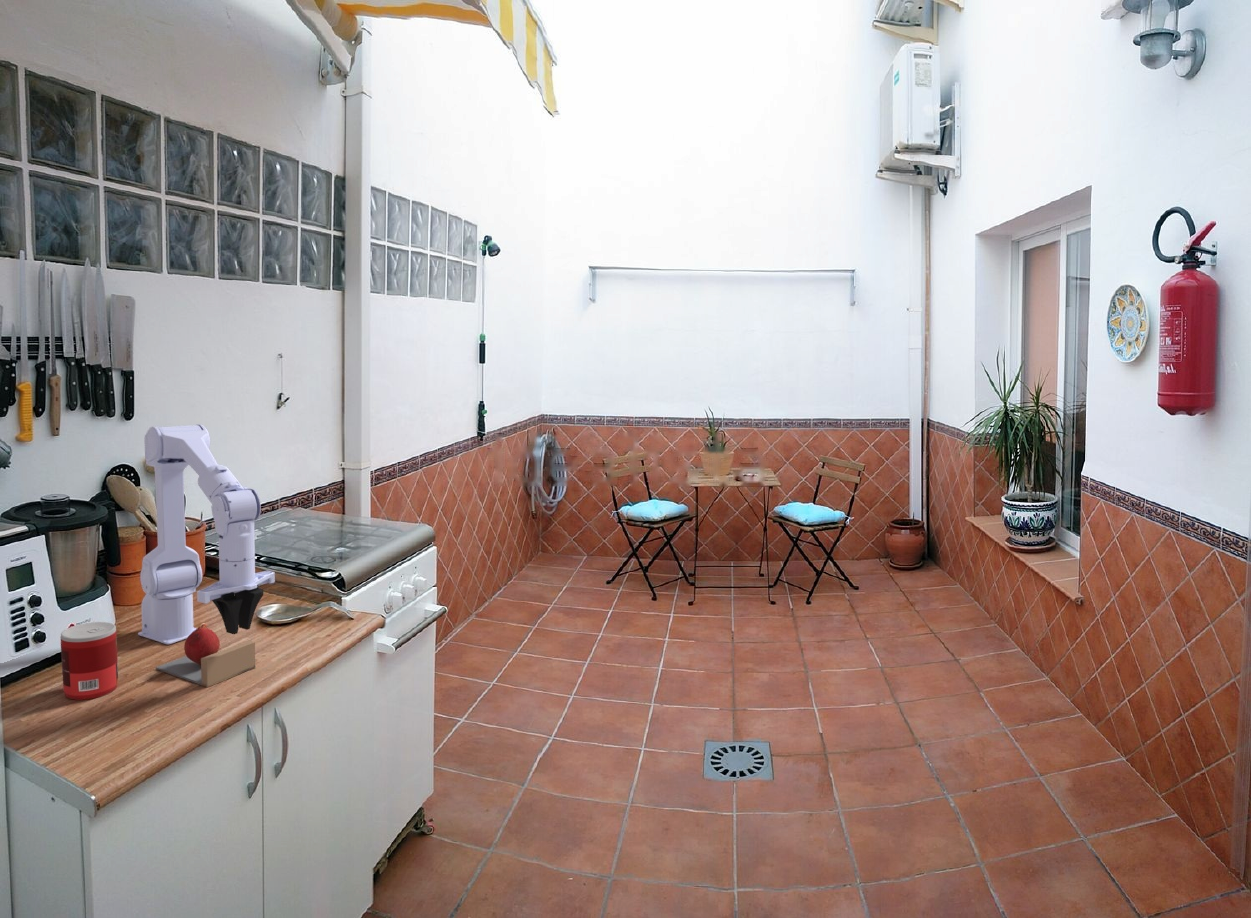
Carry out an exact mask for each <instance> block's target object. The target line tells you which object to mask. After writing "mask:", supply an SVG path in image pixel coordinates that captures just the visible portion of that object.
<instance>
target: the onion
mask: <svg viewBox="0 0 1251 918" xmlns="http://www.w3.org/2000/svg"><path fill="white" fill-rule="evenodd" d="M207 627H208V624H207V623H205V622H203V623H200V624H199V626H198V627H196V628H197V629H196V630H194V631H193V632H192V633H191V634H190V635H189V636H188V637H187V639H185V641H184V646H183V649H184V654H185V656H187V657H188V658H189V659H190V660H191V661H193V662H195V663H197V664H199V665H201V658H203V657H206V656H209V655H211V654H214V653H217V652H219V650H220V647H221V643H220V639H219V637H218V635H217V634H216V633H215V632H214V631H213V630H211V629H210V628H207Z"/></svg>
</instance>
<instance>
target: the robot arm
mask: <svg viewBox="0 0 1251 918" xmlns="http://www.w3.org/2000/svg"><path fill="white" fill-rule="evenodd" d="M210 447H211V438H210V433H209V431H208V429H207V428H206V427H205V425H203V424H201V423H199V424H194V425H173V426H154V425H153V426H151V427H149V429H148V430H147V431H146V433H145V435H144V460H145V464H146V466H148V467H153V468H154V476H155V477H154V479H155V480H154V481H155V482H154V483H155V503H156V504H155V506H156V507H155V508H156V509H155V510H156V511H155V512H156V528H157V529H156V533H157V534H156V535H157V546H156V547H155V548H153V549H152V550H151V551H150V552H148V553H147V554H146V555H145V556H143V557H142V561H141V562H142V563H141V571H140V577H139V578H140V584H141V588H142V591H143V592H144V593H145V595H144V596H143V598H142V601H141V604H140V605H141V609H140V610H141V631H139V632H138V633H137V635H138V636H141V637H143V638H146V639H149V640H152V641H156V642H158V643H161V644H164V645H171V644H175V643H176V642H180V641H183V640H186V639H187V637H188V636H189V635H190V634H191V633H192V632H193V631H194V630H196V629H197V628H198V627H194V601H193V600H194V599H193V597H194V596H193V593H196V595H197V596H196V597H197V598H196V599H197V600H196V601H197V602H199V603H202V604H203V605H204V604H209V603H211V601H212V602H213V604H214V605H215V607H216V608H217V610H218V612H219V614H220V617H221V619H222V620H223V621H222V622H223V625H224V628H225V631H226V633H229V634H232V635H236V634H238V632H239V628H240V629H244V630H245V631H247V630H250V629H251V626H252V622H253V618H254V615H255V611H256V610H257V607H258V605H259V603H260V601H261V600H262V598H263V597H264V589H263V588H260V587H259V586H262V585H266V584H274V583H275V582H276V578H275V577H276V576H275V575H276V573H275V571H270V570H264V571H260V572H256V547H255V543H256V542H255V540H256V539H255V521H257V520H258V519H259V518H260V516H261V511H262V508H261V507H262V506H261V499H260V497H259V495H258V493H257V491H256V489H254V488H252V487H250V488H249V487H248V486H242V484H241V483H240V482H239V480H238V479H237V477H236V476H235V475H234V473H233V472H232V471H231V470H230V468H228V466H226V465H222V464H218V462H217V460H216V458H215V457H214V455H213V453H212V452H211V450H210ZM188 466H189V467H190V468H191V469H193V471H194V472H195V473H196V474H197V475H198V477H197V484H198V487H199V488H200V489H201V491H202V492H203V494H204V496H205V497H206V498H207V500H209V502H210V503H211V515H212V518H213V520H214V529H215V532H216V534H218V556H219V557H218V562H219V563H218V564H219V565H218V566H219V567H218V569H219V575H218V576H219V580H218V581H217V582H214V583H212V584H211V585H208V586H206V587H204V588H202V589H199V590H196V589H197V588H198V587H199V586H200V585H201V583H202V580H203V569H202V565H201V562H200V555H199V553H198V552H197V551H196V550H195V549H193V548H192V547H189V546H187V544H186V539H187V538H186V521H185V520H186V515H185V513H186V512H185V510H186V509H185V487H184V486H185V484H184V482H185V481H184V471H185V470H186V468H187V467H188Z"/></svg>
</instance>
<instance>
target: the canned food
mask: <svg viewBox="0 0 1251 918" xmlns="http://www.w3.org/2000/svg"><path fill="white" fill-rule="evenodd" d="M117 638H118V635H117V627H116V625H115V624H114V623H111V622H104V621H96V622H95V621H93V622H86V623H81V624H76V625H73V626H70V627H68V628H66V629H64V630H63V631H61V633H60V655H61V670H62V671H61V672H62V690H63V693H64V696H65V697H66V698H68V699H70V700H76V701H77V700H80V701H81V700H82V701H83V700H93V699H96V698H100V697H103V696H106V695H109V694H110V693H112V692H113V691H115V690H116V689H117V687H118V683H119V667H118V666H119V662H118V639H117Z"/></svg>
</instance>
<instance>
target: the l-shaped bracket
mask: <svg viewBox="0 0 1251 918" xmlns="http://www.w3.org/2000/svg"><path fill="white" fill-rule="evenodd" d="M255 668H256V642H255V641H252V640H246V641H243V642H241V643H239V644H236V645H233V646H231V647H228V648H225V649H222V650H220V651H218V652H217V653H214V654H211V655H209V656H206V657H203V658H201V665H199V664H197V663H195V662H193V661H191V660H190V659H189V658H188V657H187V656H186V655H185V656H182V657H180V658H177V659H174V660H171V661H169V662H165V663H163V664H161V665H157V666H156V667H155V670H157V671H160V672H163V673H166V674H169V675H172V676H174V677H178V678H180V679H183V680H186V681H189V682H192V683H195V684H197V685H200V686H204V687H205V688H209V687H211V686H214V685H217V684H219V683H221V682H224V681H226V680H229V679H232V678H233V677H236V676H239V675H241V674H243V673H246V672H248V671H251V670H253V669H255Z"/></svg>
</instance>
